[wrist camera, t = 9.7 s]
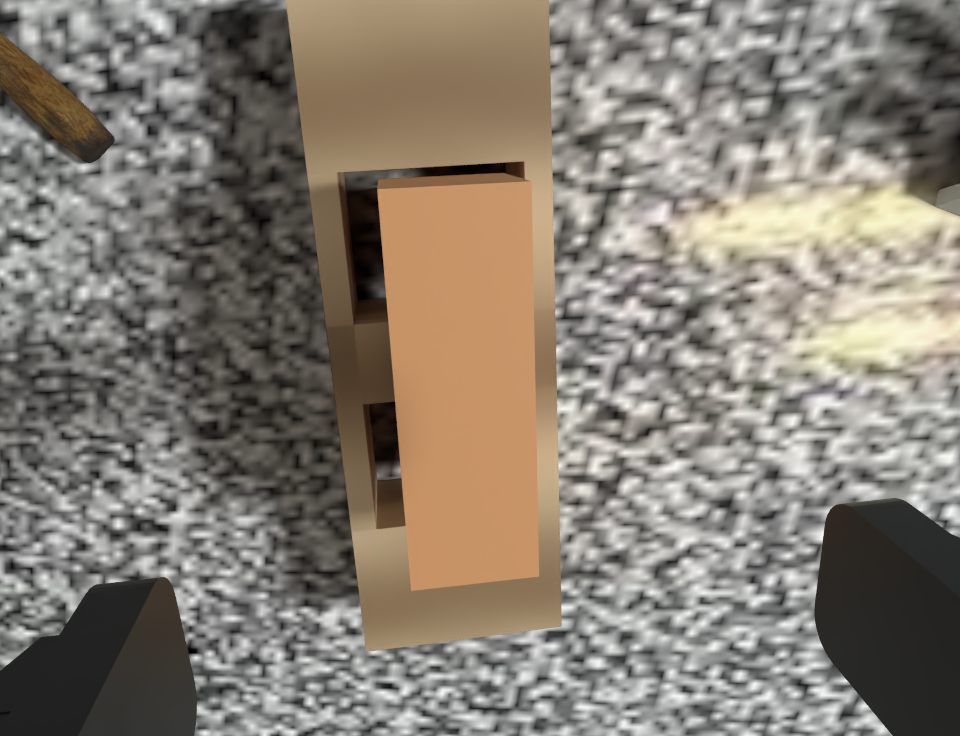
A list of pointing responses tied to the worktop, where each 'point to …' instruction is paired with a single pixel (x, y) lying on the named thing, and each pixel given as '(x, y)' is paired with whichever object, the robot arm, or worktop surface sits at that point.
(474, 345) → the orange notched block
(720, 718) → the worktop surface
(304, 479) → the worktop surface
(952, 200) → the grey piece
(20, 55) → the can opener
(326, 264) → the rail
